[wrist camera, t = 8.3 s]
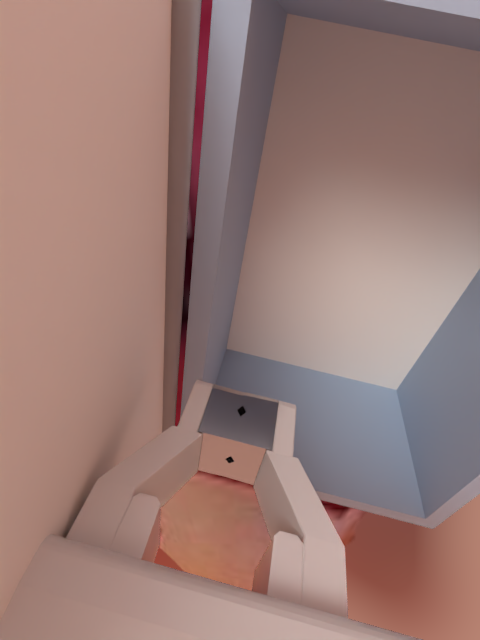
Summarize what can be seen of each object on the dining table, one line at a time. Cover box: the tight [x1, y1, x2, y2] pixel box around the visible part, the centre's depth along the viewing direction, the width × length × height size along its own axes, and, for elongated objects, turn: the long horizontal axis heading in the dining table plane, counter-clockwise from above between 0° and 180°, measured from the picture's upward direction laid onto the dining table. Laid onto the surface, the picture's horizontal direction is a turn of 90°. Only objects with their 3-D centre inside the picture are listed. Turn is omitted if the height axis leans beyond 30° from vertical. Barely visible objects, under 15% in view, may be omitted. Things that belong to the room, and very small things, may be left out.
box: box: [180, 0, 480, 529], centre depth 16 cm, size 20×14×10 cm
